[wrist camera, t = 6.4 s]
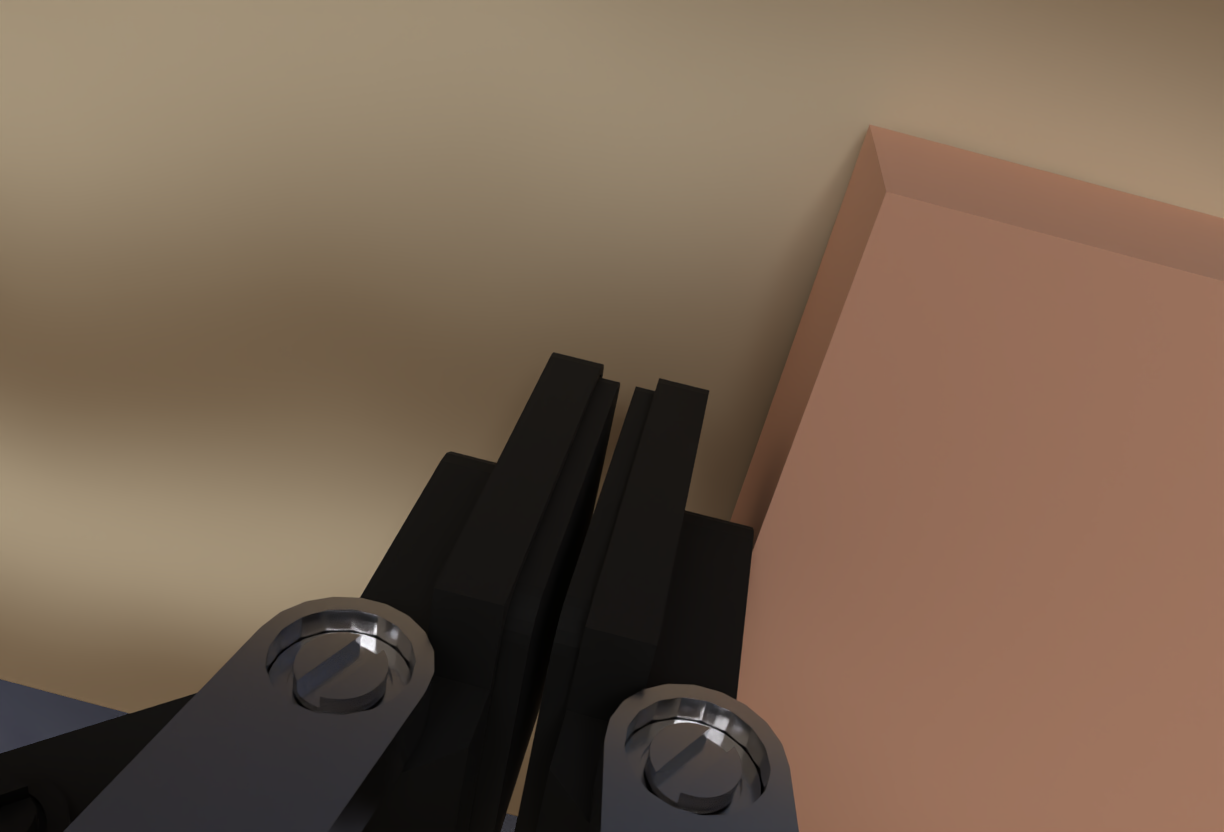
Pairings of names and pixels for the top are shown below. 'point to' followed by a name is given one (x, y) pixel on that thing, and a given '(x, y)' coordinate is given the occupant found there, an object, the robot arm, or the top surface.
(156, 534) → the deck
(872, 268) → the salmon brown flat block
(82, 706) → the top surface
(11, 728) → the top surface
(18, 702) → the top surface
